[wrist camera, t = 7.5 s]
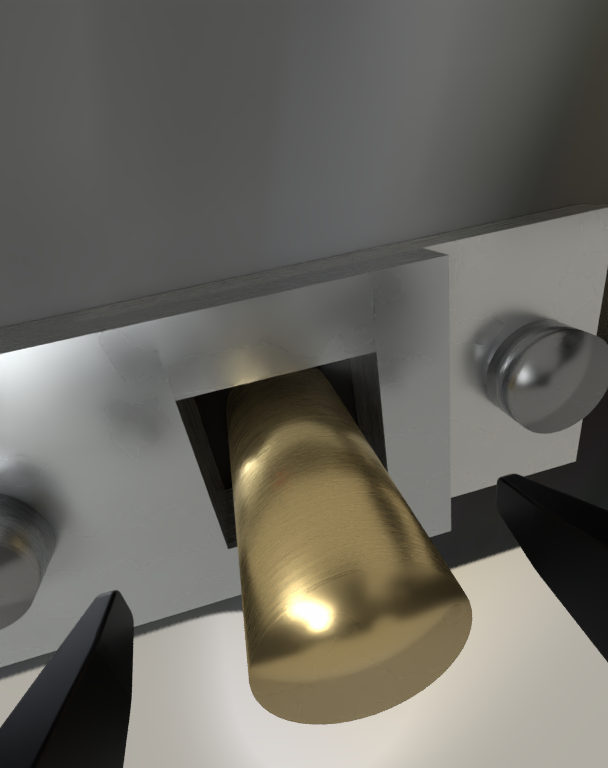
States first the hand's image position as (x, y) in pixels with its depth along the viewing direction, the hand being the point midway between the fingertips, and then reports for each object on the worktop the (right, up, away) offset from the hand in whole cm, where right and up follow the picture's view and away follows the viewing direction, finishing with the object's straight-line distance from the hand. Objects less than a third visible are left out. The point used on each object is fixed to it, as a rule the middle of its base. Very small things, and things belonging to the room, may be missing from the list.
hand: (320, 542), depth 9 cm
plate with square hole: (-1, +3, +6) cm, 6 cm away
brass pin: (-1, +3, +6) cm, 6 cm away
